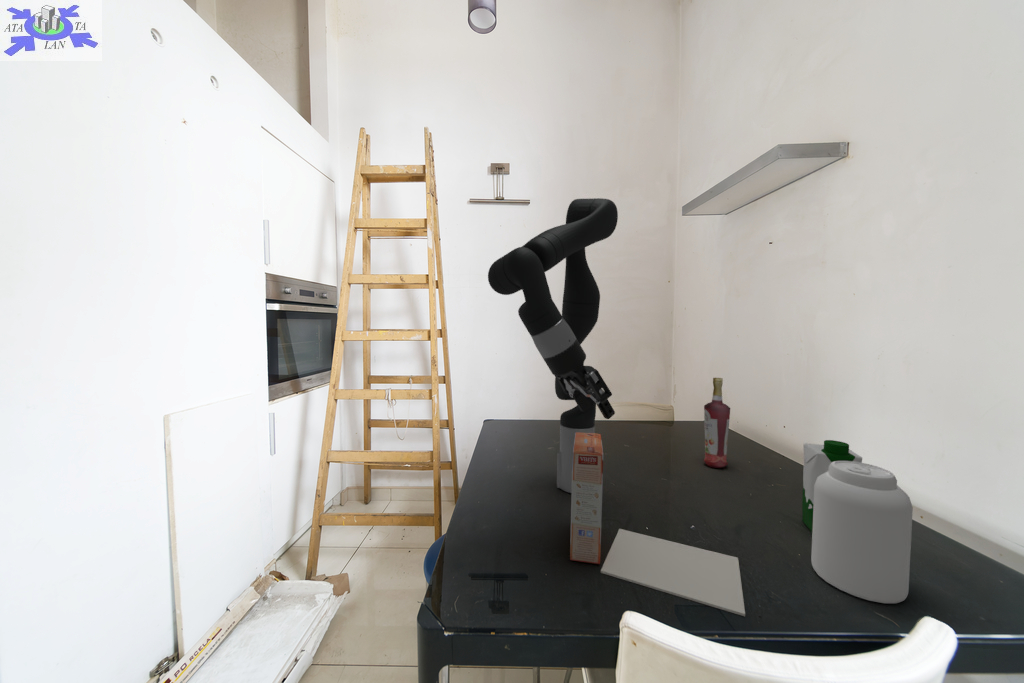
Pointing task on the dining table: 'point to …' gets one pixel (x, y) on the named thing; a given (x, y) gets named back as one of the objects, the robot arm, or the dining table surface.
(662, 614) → the dining table surface
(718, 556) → the mat
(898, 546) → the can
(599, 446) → the cracker box
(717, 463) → the liquor
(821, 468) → the milk carton
